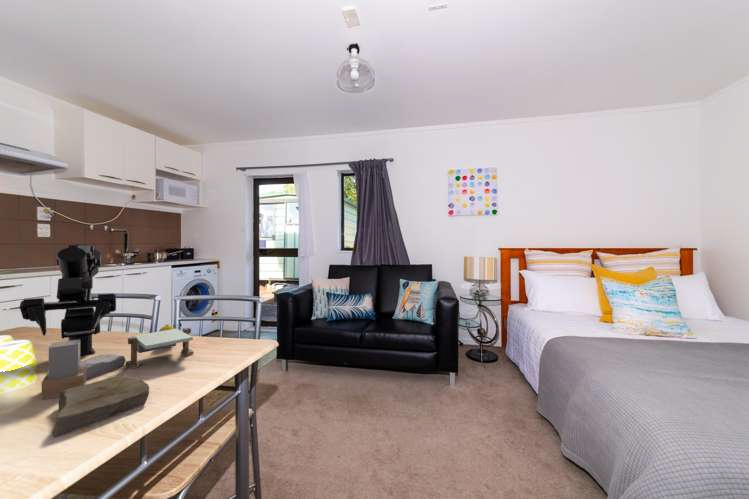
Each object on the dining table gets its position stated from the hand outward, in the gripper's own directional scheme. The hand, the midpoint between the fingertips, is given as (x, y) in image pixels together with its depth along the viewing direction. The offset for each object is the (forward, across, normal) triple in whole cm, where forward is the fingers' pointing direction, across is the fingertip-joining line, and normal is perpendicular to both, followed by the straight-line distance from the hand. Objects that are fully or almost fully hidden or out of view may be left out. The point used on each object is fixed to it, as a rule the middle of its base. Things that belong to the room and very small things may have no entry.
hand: (69, 331), depth 82 cm
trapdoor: (+5, +21, +9) cm, 23 cm away
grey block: (+11, 0, +1) cm, 11 cm away
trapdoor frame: (+6, +20, +12) cm, 24 cm away
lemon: (-3, +23, +22) cm, 32 cm away
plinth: (+14, 0, +4) cm, 15 cm away
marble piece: (+26, +7, -7) cm, 28 cm away
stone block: (+6, +4, +13) cm, 15 cm away
